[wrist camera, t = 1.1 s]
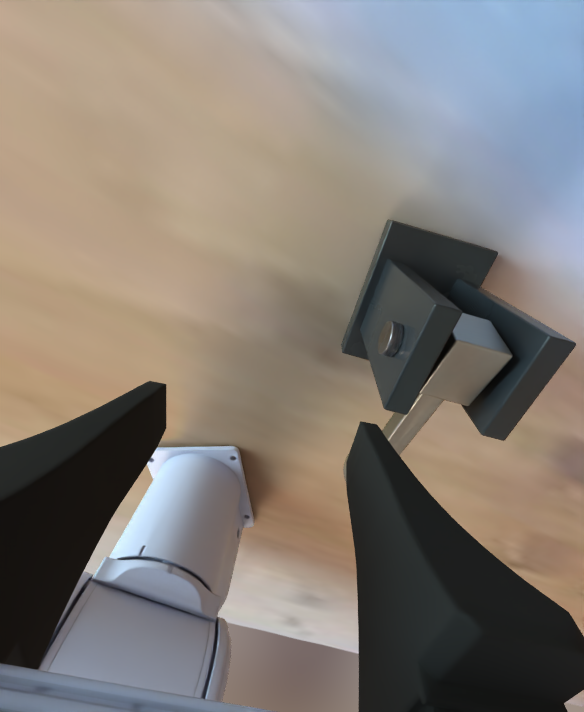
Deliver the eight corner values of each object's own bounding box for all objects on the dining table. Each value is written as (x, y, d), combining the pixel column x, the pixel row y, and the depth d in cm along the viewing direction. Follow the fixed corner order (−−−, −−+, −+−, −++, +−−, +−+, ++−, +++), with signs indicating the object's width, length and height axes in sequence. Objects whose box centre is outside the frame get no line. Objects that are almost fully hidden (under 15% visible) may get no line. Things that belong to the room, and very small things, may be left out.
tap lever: (381, 468, 21) (385, 514, 19) (336, 457, 21) (336, 502, 18) (497, 318, 13) (529, 364, 11) (429, 299, 13) (447, 342, 11)
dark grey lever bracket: (426, 368, 22) (492, 476, 13) (340, 345, 21) (354, 441, 13) (488, 248, 18) (632, 296, 10) (387, 218, 18) (447, 241, 10)
